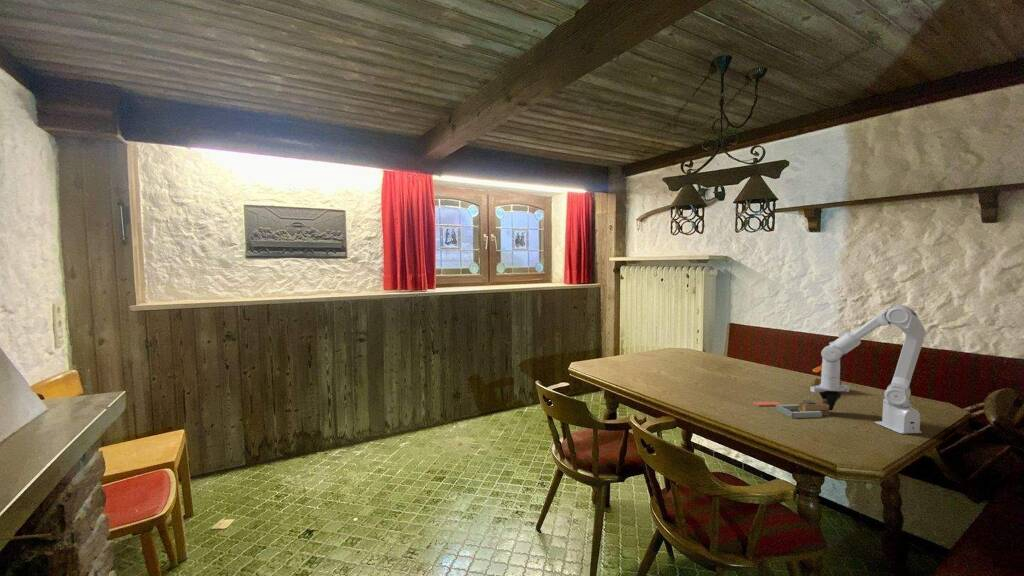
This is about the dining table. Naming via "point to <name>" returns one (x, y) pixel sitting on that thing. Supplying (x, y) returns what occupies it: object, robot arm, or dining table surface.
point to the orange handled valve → (817, 380)
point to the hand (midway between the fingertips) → (828, 409)
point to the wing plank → (767, 403)
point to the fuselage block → (814, 406)
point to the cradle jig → (802, 414)
